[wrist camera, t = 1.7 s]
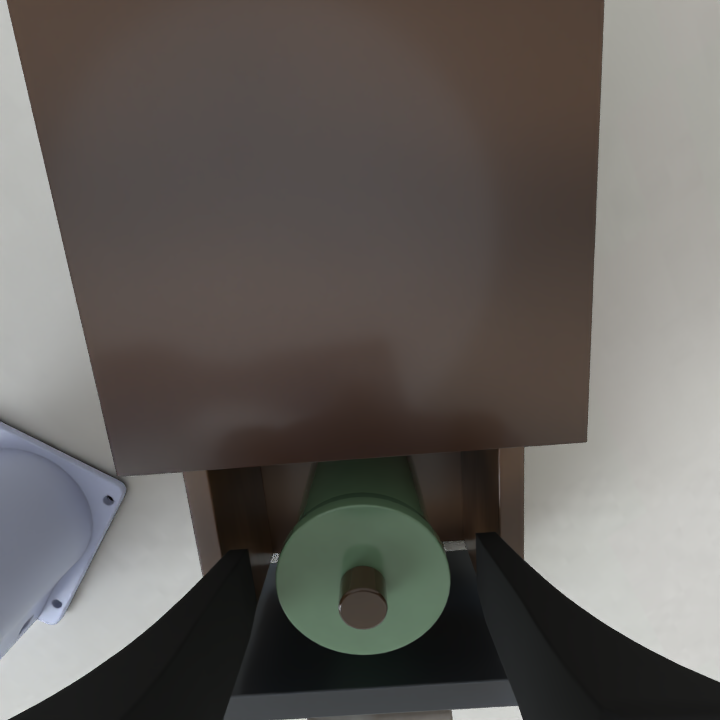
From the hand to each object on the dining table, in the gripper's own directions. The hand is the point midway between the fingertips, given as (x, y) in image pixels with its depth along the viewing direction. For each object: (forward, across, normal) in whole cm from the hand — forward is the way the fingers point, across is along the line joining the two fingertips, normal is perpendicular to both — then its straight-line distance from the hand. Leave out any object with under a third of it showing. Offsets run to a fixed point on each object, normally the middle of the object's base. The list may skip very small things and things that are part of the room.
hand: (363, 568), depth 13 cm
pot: (+6, 0, 0) cm, 6 cm away
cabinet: (+8, 0, -11) cm, 13 cm away
